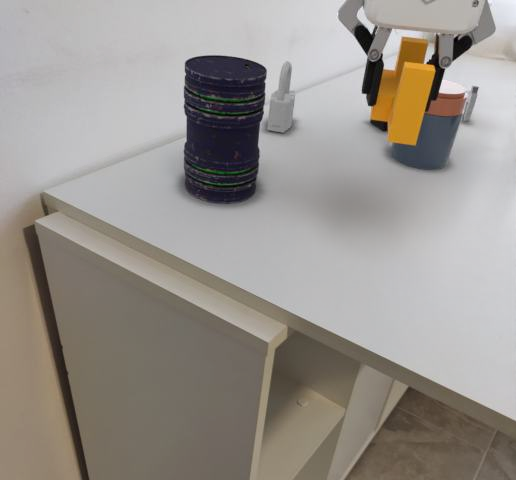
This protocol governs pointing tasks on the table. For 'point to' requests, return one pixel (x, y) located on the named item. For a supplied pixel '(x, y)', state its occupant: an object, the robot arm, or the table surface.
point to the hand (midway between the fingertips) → (396, 102)
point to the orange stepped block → (405, 92)
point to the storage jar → (223, 127)
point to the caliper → (470, 103)
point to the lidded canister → (435, 130)
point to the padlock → (282, 102)
